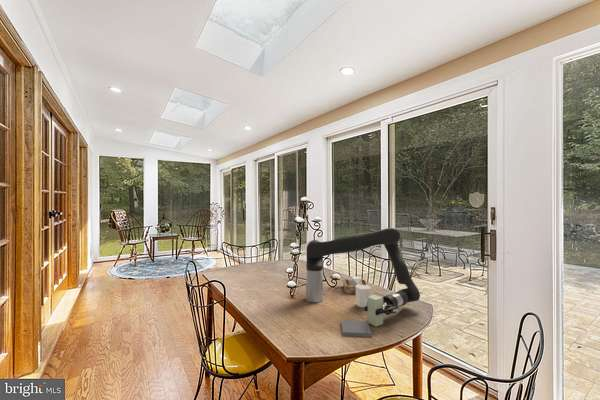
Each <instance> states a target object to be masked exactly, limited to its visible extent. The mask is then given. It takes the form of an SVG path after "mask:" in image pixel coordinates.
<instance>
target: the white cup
mask: <svg viewBox="0 0 600 400" xmlns="http://www.w3.org/2000/svg"><path fill="white" fill-rule="evenodd" d="M371 290H372V289H371V286H370V285H369V284H368V285H356V294H355V300H356V302H355V303H356V306H357V307H359V308H364V307H365V306H367V297H369V296H371Z"/></svg>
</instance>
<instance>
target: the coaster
mask: <svg viewBox="0 0 600 400" xmlns="http://www.w3.org/2000/svg"><path fill="white" fill-rule="evenodd" d="M340 324H341V326H340V327H341V332H342V336H343V337H368V338H370V337H371V338H372V337H373V333H372V330H371V327H370V324H369V323H368V321H367V320H344V319H342V320H340Z"/></svg>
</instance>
